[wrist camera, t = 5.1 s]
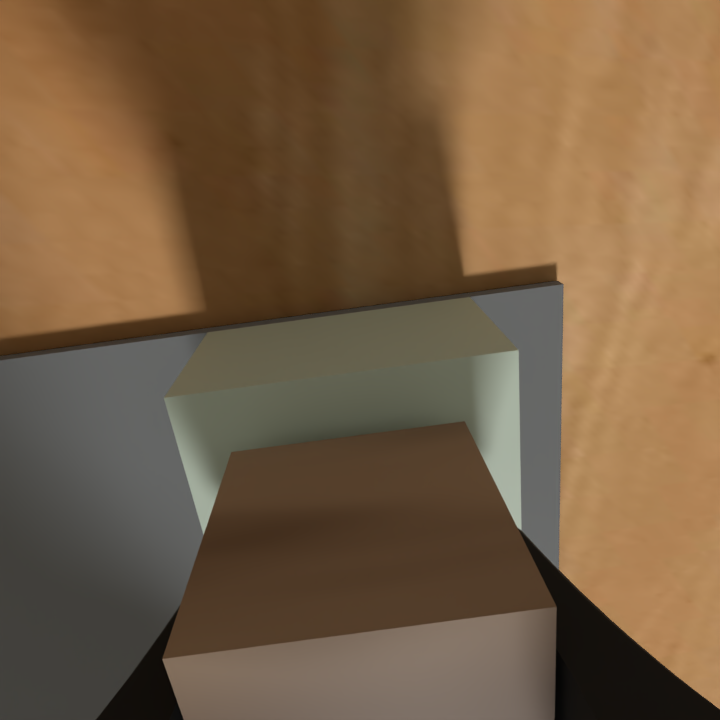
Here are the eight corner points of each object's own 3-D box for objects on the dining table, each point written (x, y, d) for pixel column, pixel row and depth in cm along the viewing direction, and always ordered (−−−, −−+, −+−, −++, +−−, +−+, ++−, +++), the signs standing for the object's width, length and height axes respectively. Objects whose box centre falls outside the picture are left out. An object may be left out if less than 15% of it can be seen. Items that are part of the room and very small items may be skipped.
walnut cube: (474, 600, 12) (552, 843, 8) (273, 627, 12) (241, 885, 8) (465, 421, 10) (556, 606, 6) (231, 452, 10) (162, 659, 6)
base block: (480, 512, 17) (522, 616, 13) (259, 542, 17) (238, 654, 13) (469, 296, 14) (518, 350, 10) (207, 332, 14) (163, 397, 10)
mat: (552, 651, 20) (557, 660, 19) (-39, 730, 20) (-46, 742, 19) (557, 280, 15) (563, 283, 14) (-246, 389, 15) (-261, 395, 14)
